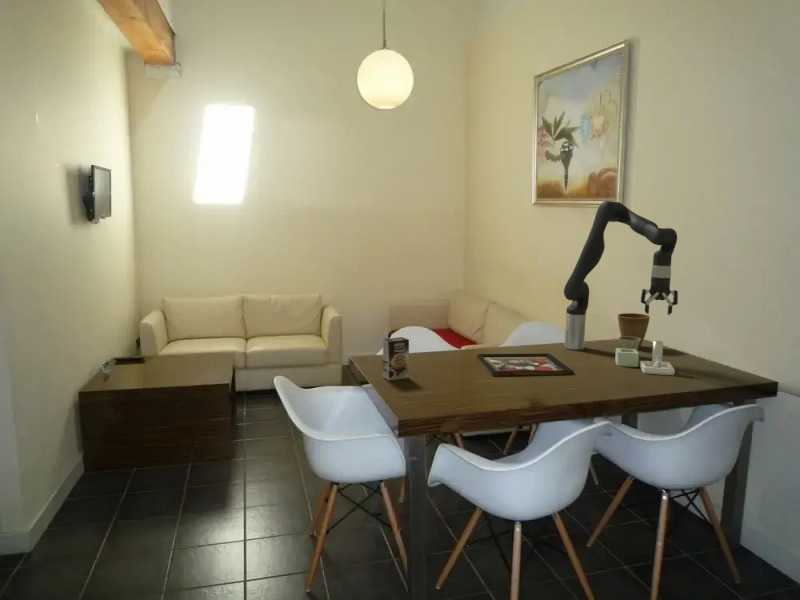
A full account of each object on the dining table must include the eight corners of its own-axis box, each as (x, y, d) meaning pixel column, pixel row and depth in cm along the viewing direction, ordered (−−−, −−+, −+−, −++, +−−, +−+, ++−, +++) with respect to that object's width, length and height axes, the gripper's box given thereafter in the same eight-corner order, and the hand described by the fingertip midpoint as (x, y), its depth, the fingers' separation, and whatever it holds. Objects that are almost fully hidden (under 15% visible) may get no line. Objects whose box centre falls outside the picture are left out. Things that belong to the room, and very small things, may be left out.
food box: (389, 380, 249) (389, 341, 247) (382, 377, 255) (382, 338, 252) (409, 378, 253) (409, 339, 251) (402, 374, 259) (402, 336, 256)
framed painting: (495, 380, 252) (496, 373, 252) (468, 359, 286) (468, 353, 286) (581, 376, 260) (582, 369, 260) (545, 356, 294) (545, 350, 294)
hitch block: (617, 365, 274) (618, 352, 273) (615, 360, 282) (615, 348, 281) (638, 366, 272) (638, 353, 271) (635, 362, 280) (636, 349, 279)
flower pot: (636, 354, 295) (637, 336, 293) (642, 359, 286) (643, 340, 284) (616, 353, 296) (617, 335, 294) (621, 358, 286) (622, 340, 285)
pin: (652, 370, 264) (653, 342, 262) (650, 367, 268) (652, 340, 266) (662, 370, 263) (664, 342, 261) (660, 368, 267) (662, 340, 265)
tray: (643, 373, 261) (644, 367, 261) (639, 366, 273) (639, 360, 272) (674, 375, 259) (674, 369, 258) (668, 367, 270) (668, 362, 270)
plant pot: (639, 343, 318) (641, 312, 315) (653, 350, 303) (655, 317, 301) (611, 343, 317) (613, 312, 315) (623, 350, 302) (625, 318, 300)
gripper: (677, 275, 263) (674, 313, 266) (641, 274, 266) (638, 311, 269) (681, 277, 256) (677, 316, 258) (644, 276, 259) (641, 314, 261)
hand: (657, 314), depth 263 cm, fingers open, 8 cm apart
